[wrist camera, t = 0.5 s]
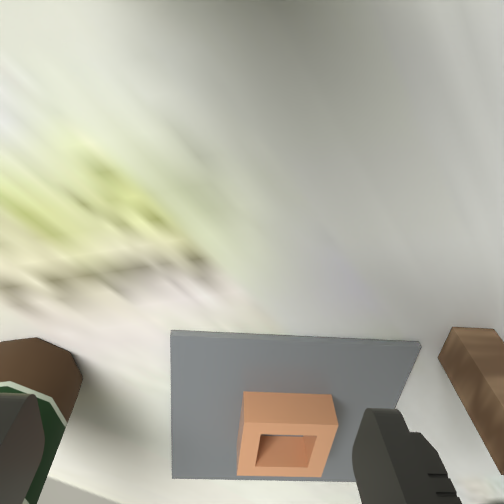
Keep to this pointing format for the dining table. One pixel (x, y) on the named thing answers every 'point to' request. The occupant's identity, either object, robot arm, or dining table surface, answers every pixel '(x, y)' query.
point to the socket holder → (277, 402)
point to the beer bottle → (42, 392)
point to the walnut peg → (479, 382)
